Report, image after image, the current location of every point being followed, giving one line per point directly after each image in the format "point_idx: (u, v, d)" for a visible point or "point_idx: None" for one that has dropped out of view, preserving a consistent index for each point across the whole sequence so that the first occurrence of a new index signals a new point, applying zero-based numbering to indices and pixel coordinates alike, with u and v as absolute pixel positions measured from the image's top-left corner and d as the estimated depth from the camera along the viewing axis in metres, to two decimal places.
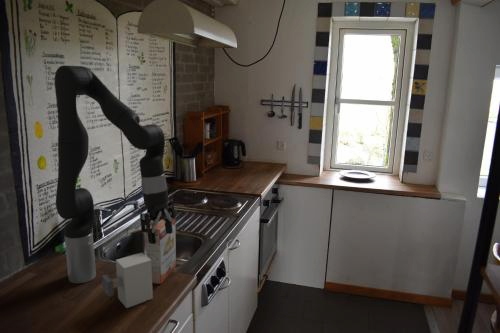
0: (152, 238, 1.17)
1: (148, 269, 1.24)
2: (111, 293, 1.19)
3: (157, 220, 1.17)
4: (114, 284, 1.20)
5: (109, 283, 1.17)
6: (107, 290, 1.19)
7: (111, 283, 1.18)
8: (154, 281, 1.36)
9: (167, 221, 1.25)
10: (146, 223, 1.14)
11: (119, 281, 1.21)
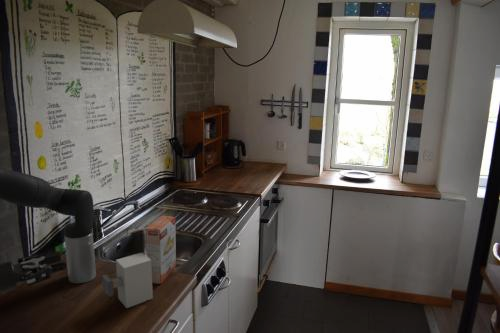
0: None
1: (148, 269, 1.24)
2: (111, 293, 1.19)
3: None
4: (114, 284, 1.20)
5: (109, 283, 1.17)
6: (107, 290, 1.19)
7: (111, 283, 1.18)
8: (154, 281, 1.36)
9: None
10: None
11: (119, 281, 1.21)
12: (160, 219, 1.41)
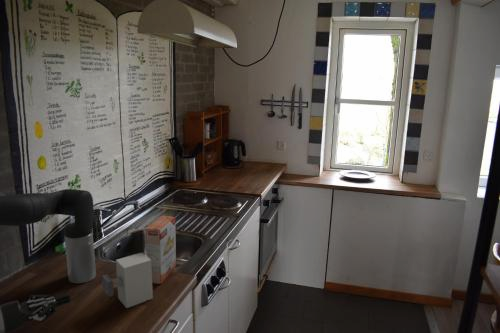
0: None
1: (148, 269, 1.24)
2: (111, 293, 1.19)
3: None
4: (114, 284, 1.20)
5: (109, 283, 1.17)
6: (107, 290, 1.19)
7: (111, 283, 1.18)
8: (154, 281, 1.36)
9: None
10: None
11: (119, 281, 1.21)
12: (160, 219, 1.41)
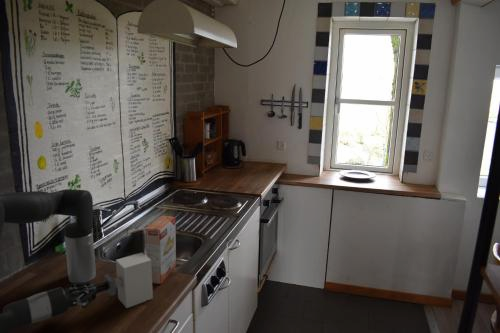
0: None
1: (148, 269, 1.24)
2: (113, 292, 1.19)
3: None
4: (116, 283, 1.21)
5: (111, 282, 1.18)
6: (109, 289, 1.19)
7: (113, 282, 1.18)
8: (154, 281, 1.36)
9: None
10: None
11: (121, 280, 1.22)
12: (160, 219, 1.41)
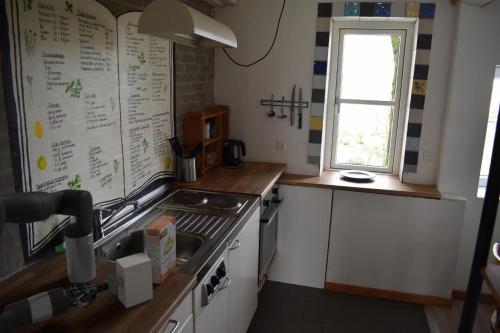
0: None
1: (148, 269, 1.24)
2: (116, 291, 1.20)
3: None
4: (119, 282, 1.21)
5: (114, 281, 1.18)
6: (112, 288, 1.20)
7: (116, 281, 1.19)
8: (154, 281, 1.36)
9: None
10: None
11: None
12: (160, 219, 1.41)
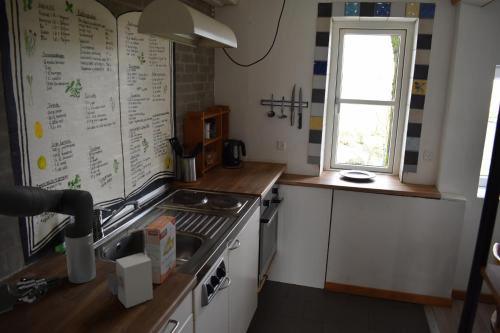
0: None
1: (148, 269, 1.24)
2: (116, 291, 1.20)
3: None
4: (119, 282, 1.21)
5: (114, 281, 1.18)
6: (112, 288, 1.20)
7: (116, 281, 1.19)
8: (154, 281, 1.36)
9: None
10: None
11: None
12: (160, 219, 1.41)
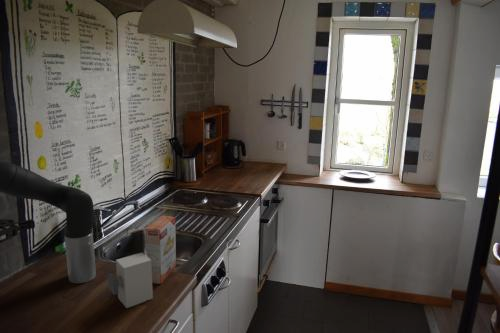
0: None
1: (148, 269, 1.24)
2: (116, 291, 1.20)
3: None
4: (119, 282, 1.21)
5: (114, 281, 1.18)
6: (112, 288, 1.20)
7: (116, 281, 1.19)
8: (154, 281, 1.36)
9: None
10: None
11: None
12: (160, 219, 1.41)
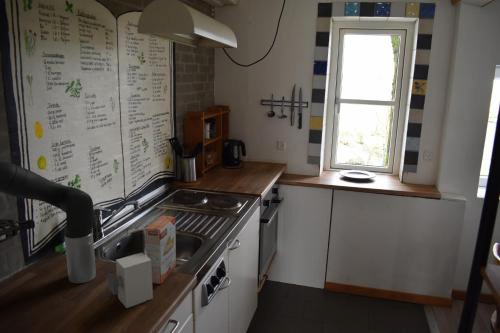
0: None
1: (148, 269, 1.24)
2: (116, 291, 1.20)
3: None
4: (119, 282, 1.21)
5: (114, 281, 1.18)
6: (112, 288, 1.20)
7: (116, 281, 1.19)
8: (154, 281, 1.36)
9: None
10: None
11: None
12: (160, 219, 1.41)
